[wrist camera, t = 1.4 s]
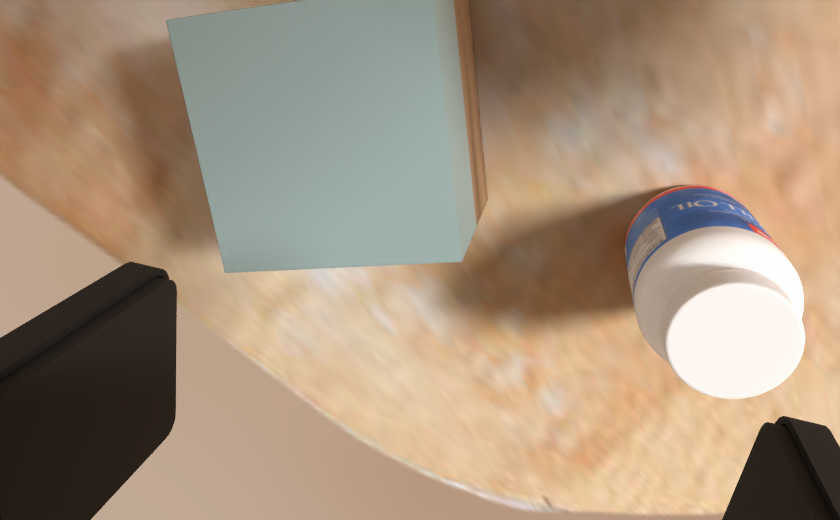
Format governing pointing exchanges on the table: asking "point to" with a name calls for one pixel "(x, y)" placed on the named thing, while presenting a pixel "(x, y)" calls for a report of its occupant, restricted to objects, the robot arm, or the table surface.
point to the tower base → (471, 104)
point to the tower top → (330, 132)
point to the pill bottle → (714, 292)
